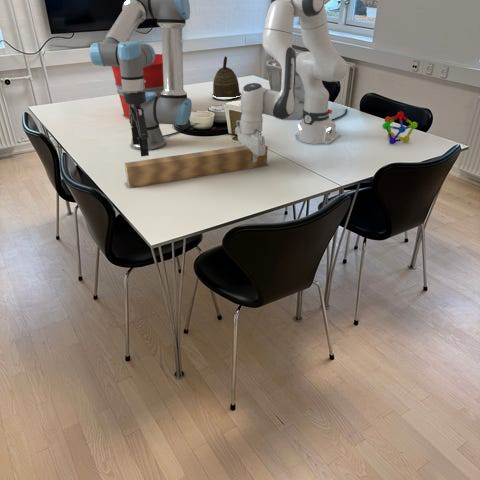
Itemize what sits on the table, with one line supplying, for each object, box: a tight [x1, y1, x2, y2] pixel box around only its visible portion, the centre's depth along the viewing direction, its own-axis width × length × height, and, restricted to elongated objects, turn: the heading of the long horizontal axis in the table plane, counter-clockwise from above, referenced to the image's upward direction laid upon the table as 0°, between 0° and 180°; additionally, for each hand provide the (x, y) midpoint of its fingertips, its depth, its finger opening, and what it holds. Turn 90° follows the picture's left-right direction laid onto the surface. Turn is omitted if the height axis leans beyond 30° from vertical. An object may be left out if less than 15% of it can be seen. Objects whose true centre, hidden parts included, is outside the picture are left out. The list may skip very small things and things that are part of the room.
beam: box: [124, 144, 269, 189], centre depth 177 cm, size 58×5×8 cm, turn 113°
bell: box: [212, 56, 242, 97], centre depth 278 cm, size 19×26×20 cm
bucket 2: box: [265, 58, 305, 121], centre depth 241 cm, size 30×30×28 cm
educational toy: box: [382, 110, 418, 145], centre depth 207 cm, size 16×13×15 cm
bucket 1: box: [111, 53, 164, 119], centre depth 242 cm, size 35×35×30 cm
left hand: (140, 149), depth 164 cm, fingers open, 13 cm apart
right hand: (250, 158), depth 185 cm, fingers closed on beam, 5 cm apart
